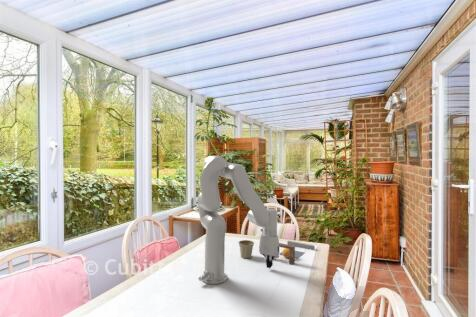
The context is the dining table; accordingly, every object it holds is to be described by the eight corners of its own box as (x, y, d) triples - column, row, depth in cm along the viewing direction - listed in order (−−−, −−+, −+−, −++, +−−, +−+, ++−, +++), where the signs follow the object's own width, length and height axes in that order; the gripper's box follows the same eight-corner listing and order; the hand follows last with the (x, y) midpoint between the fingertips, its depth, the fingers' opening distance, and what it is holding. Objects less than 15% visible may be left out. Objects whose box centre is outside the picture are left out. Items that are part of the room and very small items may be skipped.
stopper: (313, 250, 180) (313, 246, 180) (287, 245, 190) (287, 241, 190) (314, 249, 182) (314, 245, 182) (288, 244, 192) (288, 240, 192)
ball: (290, 248, 163) (294, 248, 168) (281, 246, 166) (285, 246, 171) (289, 259, 162) (293, 258, 167) (279, 256, 166) (284, 256, 170)
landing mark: (297, 258, 166) (297, 258, 166) (278, 254, 172) (278, 254, 172) (304, 252, 176) (304, 252, 176) (286, 249, 182) (286, 248, 182)
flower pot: (254, 254, 172) (254, 240, 172) (253, 260, 162) (253, 245, 162) (239, 253, 173) (239, 239, 172) (237, 259, 163) (237, 244, 163)
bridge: (292, 264, 156) (292, 247, 156) (268, 259, 164) (268, 242, 164) (294, 263, 158) (294, 246, 158) (270, 257, 167) (271, 241, 167)
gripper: (253, 231, 150) (253, 266, 150) (279, 236, 141) (279, 272, 142) (260, 228, 156) (260, 261, 156) (285, 233, 148) (285, 268, 148)
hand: (269, 267), depth 149 cm, fingers closed
